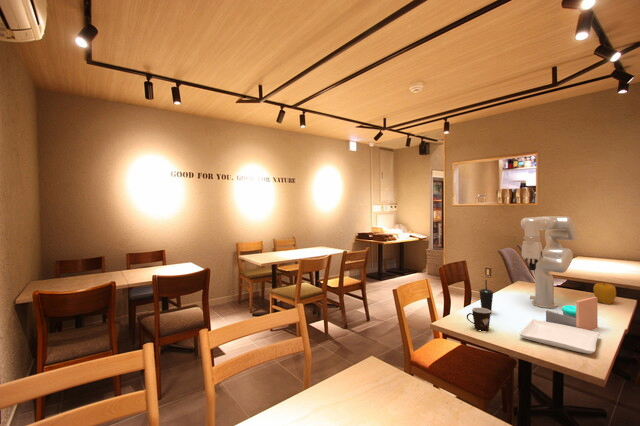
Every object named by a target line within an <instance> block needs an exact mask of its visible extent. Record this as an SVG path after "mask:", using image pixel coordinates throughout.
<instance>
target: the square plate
mask: <svg viewBox="0 0 640 426" xmlns="http://www.w3.org/2000/svg"><path fill="white" fill-rule="evenodd" d="M519 335H520V336H521V338H523V339H526V340H528V341H532V342H535V343H539V344H544V345H548V346H551V347H554V348H555V347H556V348H560V349H563V350H569V351H573V352H578V353H582V354H593V353H595V352H596V348H597V342H598V339H599V336H600V335H601V333H600V332H598V331H594V330H591V331H590V330H585V329H581V328H576V327H571V326H566V325H561V324H556V323H550V322H546V320H545V321H544V320H537V319H531V320H530V321H529V323H528V324H527V325H526V326H525V327H524V328H523V329H522V330H521V331H520V333H519Z"/></svg>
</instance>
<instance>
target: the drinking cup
mask: <svg viewBox="0 0 640 426" xmlns="http://www.w3.org/2000/svg"><path fill="white" fill-rule="evenodd" d="M484 283H485V285H484V286H485V287H483V288H480V289H478V292H479V299H480V308H485V309H488V310H490V311H491V312H492V311H493V310H492V308H493V307H492V306H493V298H494V290H492V289H490V288H488V285H487V284H488V283H487V279H485V282H484Z"/></svg>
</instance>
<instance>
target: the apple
mask: <svg viewBox="0 0 640 426" xmlns="http://www.w3.org/2000/svg"><path fill="white" fill-rule="evenodd" d="M592 288H593V295H594V297H597V302H598V303H601V304H604V305H610V304H613V302H614V301H615V299H616V298H617V289H616V286H615V285H613V284H611V283H606V282H599V283H598V282H597V283H595V284H594V285H593V287H592Z"/></svg>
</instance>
